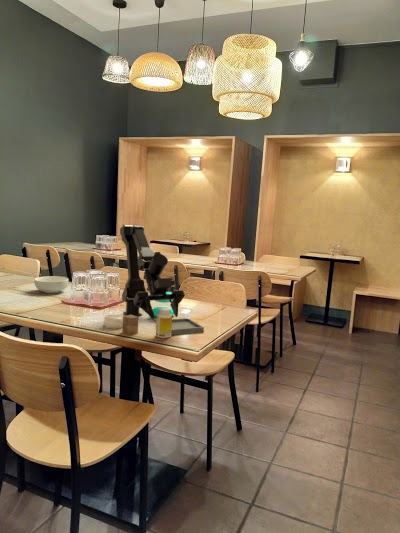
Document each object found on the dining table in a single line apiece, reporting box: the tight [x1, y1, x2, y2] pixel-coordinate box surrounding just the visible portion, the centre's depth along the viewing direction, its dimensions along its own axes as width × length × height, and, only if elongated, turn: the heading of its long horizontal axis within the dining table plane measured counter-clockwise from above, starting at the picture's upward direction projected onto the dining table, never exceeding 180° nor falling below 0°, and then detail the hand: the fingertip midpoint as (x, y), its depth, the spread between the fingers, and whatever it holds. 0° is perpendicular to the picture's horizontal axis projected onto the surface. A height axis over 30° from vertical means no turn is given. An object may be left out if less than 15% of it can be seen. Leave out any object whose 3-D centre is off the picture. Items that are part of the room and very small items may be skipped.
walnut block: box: [121, 315, 139, 335], centre depth 152 cm, size 4×4×6 cm
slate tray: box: [156, 317, 205, 336], centre depth 161 cm, size 14×14×2 cm
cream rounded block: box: [103, 314, 124, 329], centre depth 159 cm, size 8×8×4 cm
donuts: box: [152, 291, 175, 318], centre depth 179 cm, size 10×10×10 cm
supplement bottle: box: [155, 308, 173, 339], centre depth 149 cm, size 6×6×10 cm
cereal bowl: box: [34, 275, 69, 294], centre depth 214 cm, size 17×17×7 cm
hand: (165, 317), depth 148 cm, fingers open, 9 cm apart
